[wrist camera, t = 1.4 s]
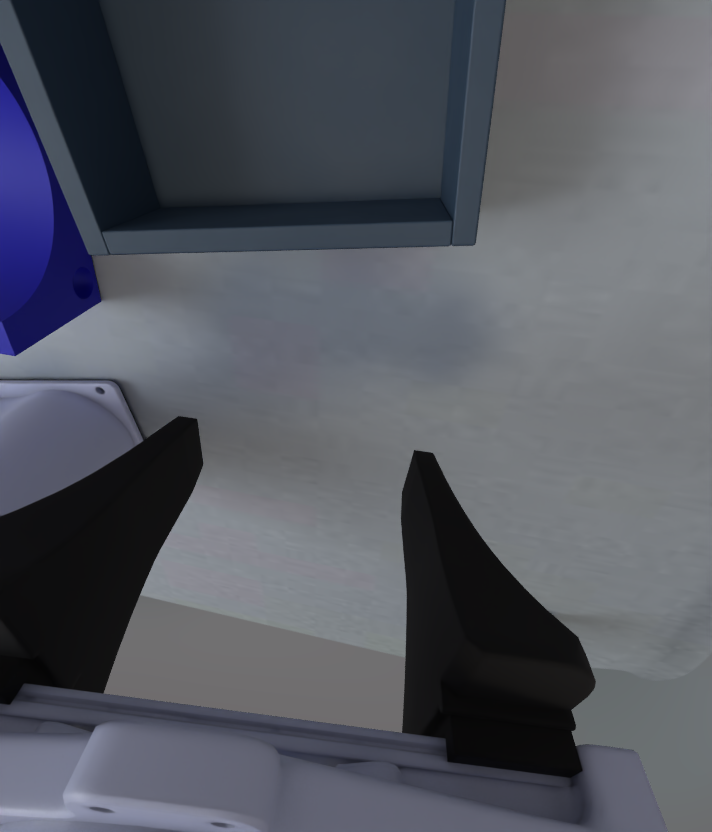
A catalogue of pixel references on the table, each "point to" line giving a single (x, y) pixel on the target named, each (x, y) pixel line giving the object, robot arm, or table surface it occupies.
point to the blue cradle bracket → (35, 234)
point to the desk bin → (261, 119)
